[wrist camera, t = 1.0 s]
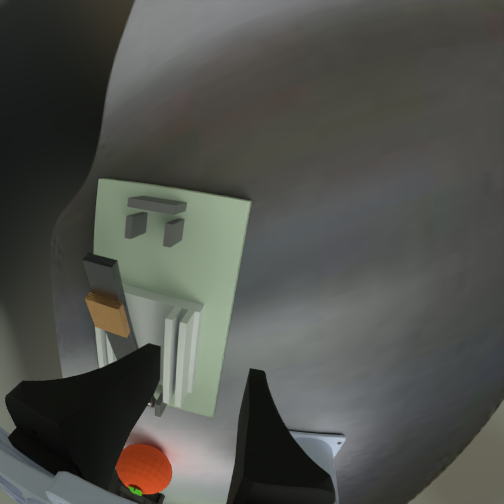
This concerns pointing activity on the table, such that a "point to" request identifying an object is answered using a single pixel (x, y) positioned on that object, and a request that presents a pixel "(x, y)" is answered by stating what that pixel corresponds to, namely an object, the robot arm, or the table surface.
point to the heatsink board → (174, 280)
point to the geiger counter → (116, 486)
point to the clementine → (144, 469)
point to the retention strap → (110, 305)
